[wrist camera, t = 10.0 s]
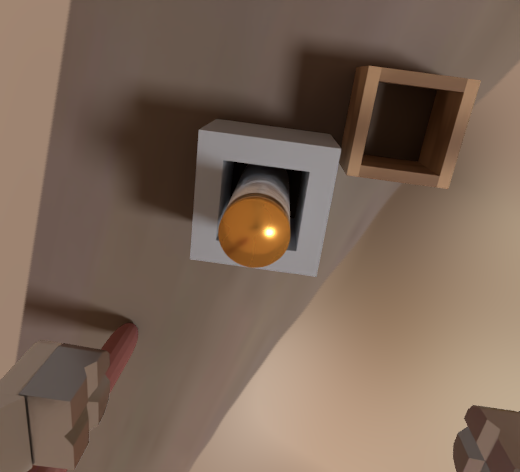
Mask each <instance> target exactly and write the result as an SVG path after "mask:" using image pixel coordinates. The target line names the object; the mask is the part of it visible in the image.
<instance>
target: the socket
mask: <svg viewBox="0 0 520 472" xmlns="http://www.w3.org/2000/svg"><path fill="white" fill-rule="evenodd" d="M340 154H341V148H340V146H339V145H338V144H337V142H336V141H335V140H334V138H333V137H332V136H331V134H326V133H318V132H311V131H304V130H296V129H289V128H281V127H274V126H267V125H259V124H252V123H244V122H237V121H230V120H222V119H215V120H214V121H212V122H210V123H209V124H207V125H205V126H204V127H202V128H201V129H199V134H198V149H197V163H196V178H195V193H194V208H193V223H192V238H191V252H190V259H192V260H200V261H207V262H214V263H221V264H228V265H236V266H243V265H240V264H238V263H236V262H234V261H233V260H232V259H230V258H229V257H228V256H227V255H226V254H225V252H224V251H223V249H222V247H221V245H220V242H219V237H218V228H219V224H220V221H221V219H222V217H223V214H224V212H225V210H226V208H227V206H228V203H229V201H230V196H231V186H232V176H233V166H234V162H241V163H248V164H255V165H263V166H270V167H278V168H285V169H292V170H300V171H302V176H301V182H300V188H299V194H298V200H297V207H296V213H295V219H293V218H290V242H289V245H288V248H287V250H286V252H285V253H284V254H283V256H282V257H281V258H280V259H278V260H277V261H276V262H274V263H272V264H270V265H268V266H265V267H259V268H257V269H264V270H272V271H279V272H286V273H293V274H300V275H308V276H315V277H317V271H318V266H319V261H320V256H321V251H322V246H323V241H324V236H325V231H326V225H327V220H328V215H329V210H330V205H331V200H332V195H333V190H334V185H335V180H336V174H337V169H338V164H339V159H340ZM243 267H246V266H243ZM250 268H252V267H250Z"/></svg>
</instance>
